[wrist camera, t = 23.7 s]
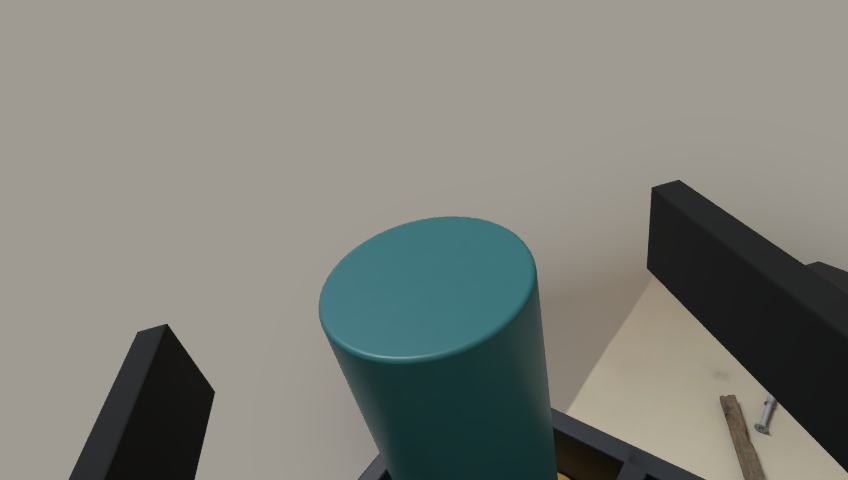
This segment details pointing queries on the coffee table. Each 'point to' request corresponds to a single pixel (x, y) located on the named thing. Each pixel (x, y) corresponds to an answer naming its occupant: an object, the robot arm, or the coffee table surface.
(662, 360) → the coffee table surface
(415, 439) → the teal cylinder
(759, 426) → the wall anchor
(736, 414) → the wooden plank
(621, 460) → the grid tray
